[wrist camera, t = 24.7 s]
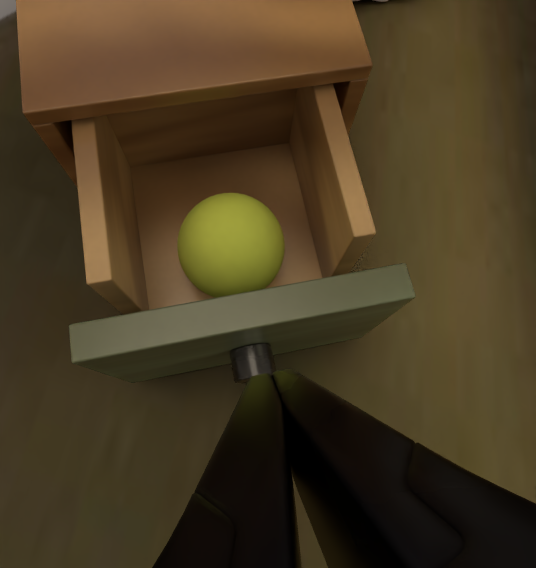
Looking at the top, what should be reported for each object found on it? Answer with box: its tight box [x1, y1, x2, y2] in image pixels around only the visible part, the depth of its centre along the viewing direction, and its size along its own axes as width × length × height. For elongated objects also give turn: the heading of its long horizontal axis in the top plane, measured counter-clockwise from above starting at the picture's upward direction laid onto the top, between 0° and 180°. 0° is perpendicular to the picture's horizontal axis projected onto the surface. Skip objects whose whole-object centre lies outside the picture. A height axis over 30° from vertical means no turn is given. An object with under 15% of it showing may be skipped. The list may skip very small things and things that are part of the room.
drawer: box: [69, 83, 415, 383], centre depth 19 cm, size 12×11×7 cm
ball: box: [177, 193, 285, 298], centre depth 19 cm, size 4×4×4 cm
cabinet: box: [16, 0, 373, 188], centre depth 21 cm, size 12×12×9 cm
